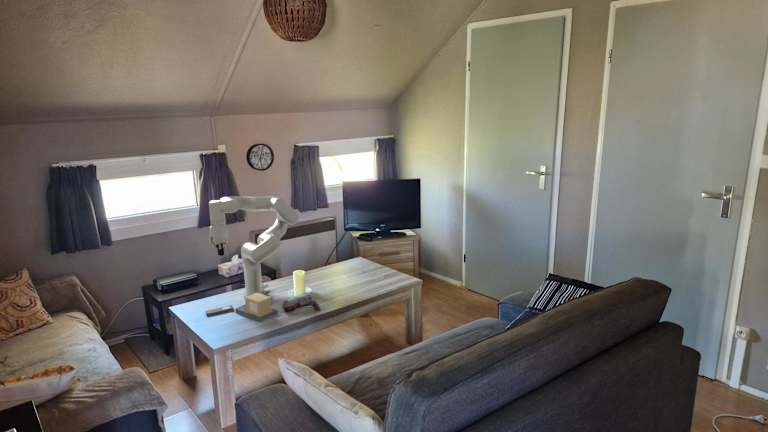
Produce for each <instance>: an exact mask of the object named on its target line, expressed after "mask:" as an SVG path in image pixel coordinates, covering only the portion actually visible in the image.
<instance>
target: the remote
mask: <svg viewBox="0 0 768 432" xmlns="http://www.w3.org/2000/svg"><path fill="white" fill-rule="evenodd" d="M233 311H235V308H234V306H233V305H228V306H227V305H226V306H222V307H217V308H213V309H208V310H205V314H206V315H205V316H206V318H207V317H212V316H217V315H220V314H224V313H225V314H226V313H229V312H230V313H231V312H233Z"/></svg>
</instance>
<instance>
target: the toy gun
mask: <svg viewBox="0 0 768 432" xmlns="http://www.w3.org/2000/svg"><path fill="white" fill-rule="evenodd" d="M281 308H282V309H283V311H284V313H290V312H294V311H295V310H298V309H301V308H302V309H303V308H307V309H313V311H314V312H320V311H321V309H322V307H321V305H320V304H319V303H318V301H317V300H316V299H315V298H312V297H311V296H306V295H304V296H299V297H298V298H293V299H290V300H286V299H285V300H282V303H281Z"/></svg>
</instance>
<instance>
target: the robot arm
mask: <svg viewBox="0 0 768 432" xmlns="http://www.w3.org/2000/svg"><path fill="white" fill-rule="evenodd" d="M208 208H209V219H210V220H209V221H210V226H209V231H208V232H209V233H208V240H209V244H210V245H211V247H212V248H216V249H217V255H218V256H221V257H223V256H225V247H226V246H225V245H226V244H228V243H229V239H230V235H229V230H228V226H227V223H226V221H227V219H226V215H225V214H233V213H236V212H237V211H239V210H243V211H248V212H269V211H270V212H276V218H275V222H274V223H273V225H272V226H270V227H269V228H267V229H266V230H265V231H263V232H262V233H260V235H258V237H257V239H256V241H257V243H255V242H250V241H249V242H245V243H244V244H243V245H242V246H241V249H240V256H241V259H242V263H243V264H242V266H243V276H244V277H243V278H244V288H245V291H244V292H243V294H242V295H243V297H244V298H245V297H247V296H250V295H252V294H255V293H260V294H263V295H266V290H265V289H267V288H269V284H268V283H266V284H264V283H263V282H262V281H263V279H262V268H261V267H262V266H261V262H264V261H265V260H266V259H268V258H269V257H270V256H272V255H273V254H274V253H276V252H277V251H278V250H279V249H280V247H281V244H282V243H281V238H282V237H284V235H285V234H286V233H287V230H288V227H289V226H288V225H290V226H294V225H296V224H297V223H298V221H299V218H300V217H299V214H298V212H297V211H296V210H295V209H294V208H293V207H292V206H291V205H290V204H289V203H288V202H287V201H286V200H285V199H284V198H282V197H278V196H276V195H275V196H274V195H267V196H265V195H264V196H243V195H241V196H240V195H239V196H238V195H236V196H231V195H229V196H223V197H221V198H220V199H213V200H210V201H209V202H208Z"/></svg>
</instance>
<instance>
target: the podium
mask: <svg viewBox="0 0 768 432" xmlns="http://www.w3.org/2000/svg"><path fill="white" fill-rule="evenodd" d="M234 311H235V314H238V315H240V316H244V317H246V318H249V319H252V320H254V321H255V322H259V323H261V322H263V321H266V320H268V319H270V318H272V317H273V316H276V315H278V314H279V310H278V309H277V308H274V307H272V312H270V313H268V314H266V315H263V316H261V317H259V316H256V315H253V314H251V313H248V312H246V303H244V304H242V305H240V306H238V307H235V308H234ZM265 319H266V320H265Z"/></svg>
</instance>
